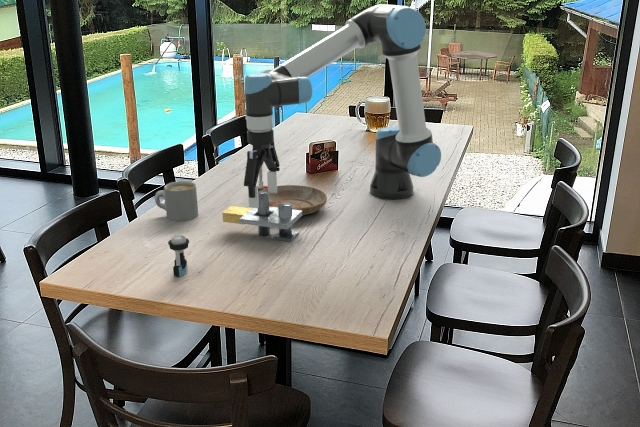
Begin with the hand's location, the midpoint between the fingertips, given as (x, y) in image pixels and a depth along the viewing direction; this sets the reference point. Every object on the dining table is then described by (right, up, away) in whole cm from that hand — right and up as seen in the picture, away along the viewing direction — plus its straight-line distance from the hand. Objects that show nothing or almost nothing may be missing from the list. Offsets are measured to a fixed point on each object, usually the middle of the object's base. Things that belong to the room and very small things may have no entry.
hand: (263, 199), depth 203 cm
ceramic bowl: (+7, -3, +23) cm, 25 cm away
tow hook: (-3, +3, +41) cm, 41 cm away
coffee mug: (-29, -5, +19) cm, 35 cm away
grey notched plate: (-1, -10, +4) cm, 11 cm away
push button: (-20, -20, -20) cm, 35 cm away
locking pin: (0, -10, +4) cm, 11 cm away
